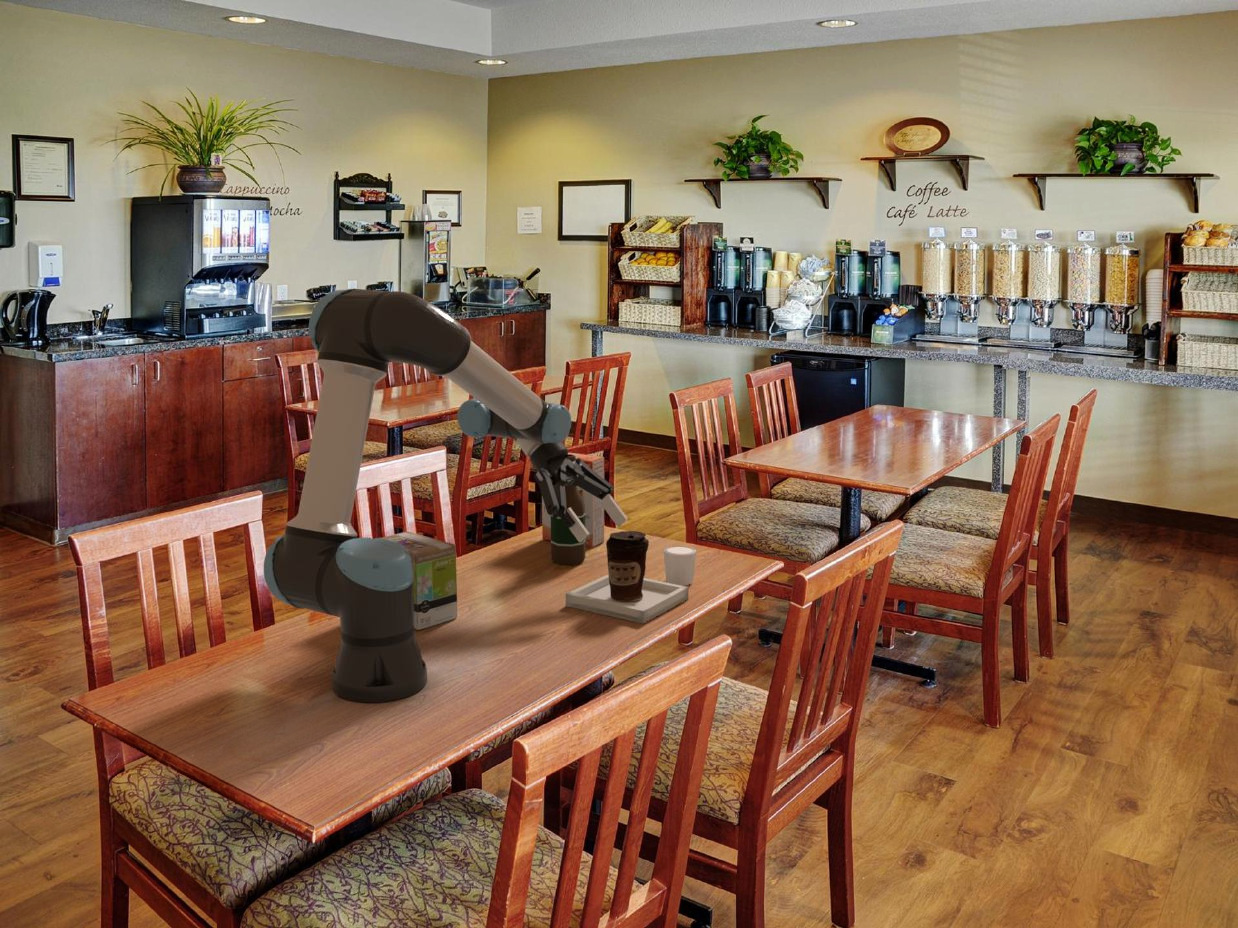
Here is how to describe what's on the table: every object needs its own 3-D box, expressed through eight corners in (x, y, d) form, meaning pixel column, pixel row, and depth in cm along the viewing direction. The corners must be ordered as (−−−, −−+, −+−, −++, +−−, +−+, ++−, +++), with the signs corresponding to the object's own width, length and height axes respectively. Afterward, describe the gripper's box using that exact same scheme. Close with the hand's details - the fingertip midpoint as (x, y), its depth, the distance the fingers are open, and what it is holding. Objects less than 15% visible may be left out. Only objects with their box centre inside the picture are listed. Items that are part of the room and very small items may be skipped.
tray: (643, 623, 210) (643, 611, 210) (565, 605, 220) (565, 593, 219) (688, 598, 224) (688, 587, 224) (613, 583, 234) (613, 571, 233)
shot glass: (679, 574, 240) (679, 543, 238) (702, 582, 235) (703, 550, 233) (656, 581, 235) (656, 549, 234) (679, 589, 230) (680, 556, 229)
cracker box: (541, 540, 265) (540, 454, 260) (554, 534, 270) (553, 449, 265) (592, 549, 258) (591, 460, 254) (605, 542, 263) (605, 455, 259)
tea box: (459, 618, 213) (457, 543, 210) (417, 632, 206) (414, 555, 203) (411, 600, 223) (408, 528, 220) (369, 613, 216) (365, 539, 213)
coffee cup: (643, 606, 217) (644, 541, 214) (601, 603, 218) (601, 539, 216) (651, 592, 225) (652, 529, 222) (611, 589, 227) (611, 527, 224)
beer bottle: (572, 568, 244) (572, 460, 239) (543, 562, 248) (542, 456, 243) (592, 559, 250) (592, 454, 245) (564, 553, 254) (563, 450, 249)
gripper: (568, 449, 239) (627, 527, 234) (494, 469, 219) (556, 556, 214) (589, 427, 235) (649, 506, 230) (514, 446, 215) (578, 533, 210)
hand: (604, 530), depth 222 cm, fingers open, 13 cm apart
